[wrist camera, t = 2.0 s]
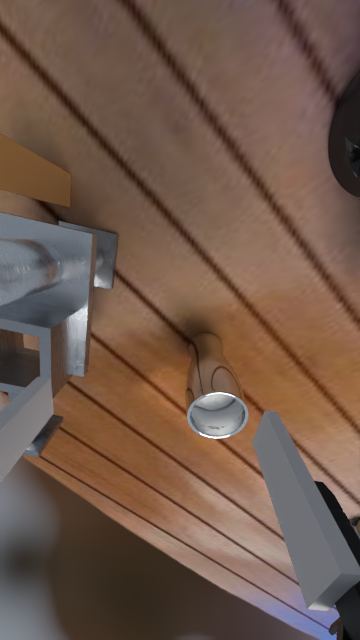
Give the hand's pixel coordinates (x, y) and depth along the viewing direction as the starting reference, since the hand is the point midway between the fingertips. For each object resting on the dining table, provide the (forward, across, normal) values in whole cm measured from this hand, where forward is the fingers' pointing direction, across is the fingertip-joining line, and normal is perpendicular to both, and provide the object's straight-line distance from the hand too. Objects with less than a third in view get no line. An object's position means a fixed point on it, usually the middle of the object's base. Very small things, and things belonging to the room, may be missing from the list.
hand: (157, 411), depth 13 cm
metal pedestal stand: (+22, -14, +1) cm, 26 cm away
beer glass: (+22, +6, -7) cm, 24 cm away
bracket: (+11, -15, -7) cm, 20 cm away
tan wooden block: (+22, -18, +14) cm, 32 cm away
